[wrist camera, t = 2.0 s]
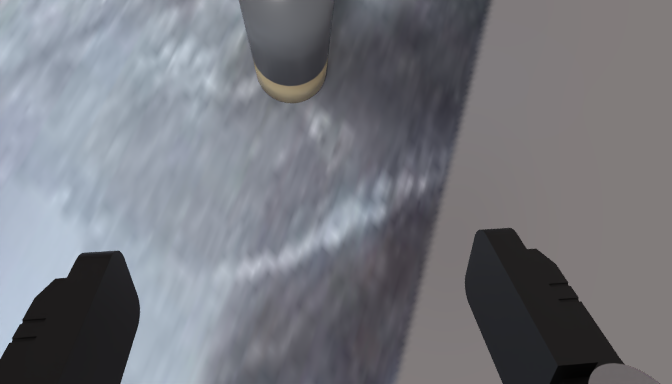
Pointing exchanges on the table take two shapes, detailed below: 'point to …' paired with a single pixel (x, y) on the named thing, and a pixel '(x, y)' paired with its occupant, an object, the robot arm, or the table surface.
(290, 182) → the table surface
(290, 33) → the dark grey cylinder
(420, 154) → the table surface
